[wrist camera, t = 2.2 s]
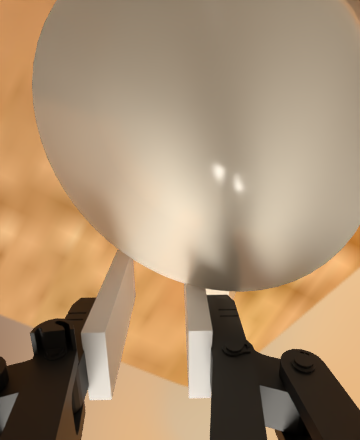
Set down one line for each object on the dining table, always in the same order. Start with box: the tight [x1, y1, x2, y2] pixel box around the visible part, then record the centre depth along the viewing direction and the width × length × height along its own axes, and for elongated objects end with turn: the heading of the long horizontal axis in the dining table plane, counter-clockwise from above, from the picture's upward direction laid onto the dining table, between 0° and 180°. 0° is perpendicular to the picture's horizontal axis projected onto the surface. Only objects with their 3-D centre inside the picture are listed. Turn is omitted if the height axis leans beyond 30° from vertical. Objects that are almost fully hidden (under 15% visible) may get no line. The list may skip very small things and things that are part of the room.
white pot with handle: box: [32, 0, 360, 300], centre depth 15 cm, size 18×10×9 cm
